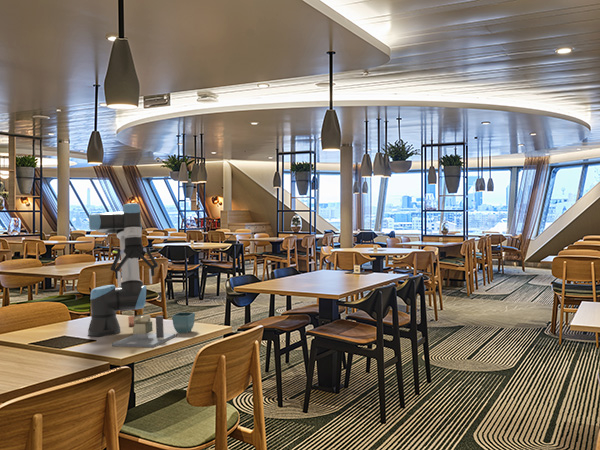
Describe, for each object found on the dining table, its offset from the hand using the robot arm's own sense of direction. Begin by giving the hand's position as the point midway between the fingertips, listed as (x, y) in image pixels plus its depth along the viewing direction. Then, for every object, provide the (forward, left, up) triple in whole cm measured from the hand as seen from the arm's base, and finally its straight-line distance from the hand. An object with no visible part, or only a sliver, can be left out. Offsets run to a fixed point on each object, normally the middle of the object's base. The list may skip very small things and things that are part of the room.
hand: (135, 285), depth 247 cm
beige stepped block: (-2, +5, -23) cm, 23 cm away
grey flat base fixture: (-1, +8, -27) cm, 28 cm away
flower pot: (+9, +28, -27) cm, 40 cm away
